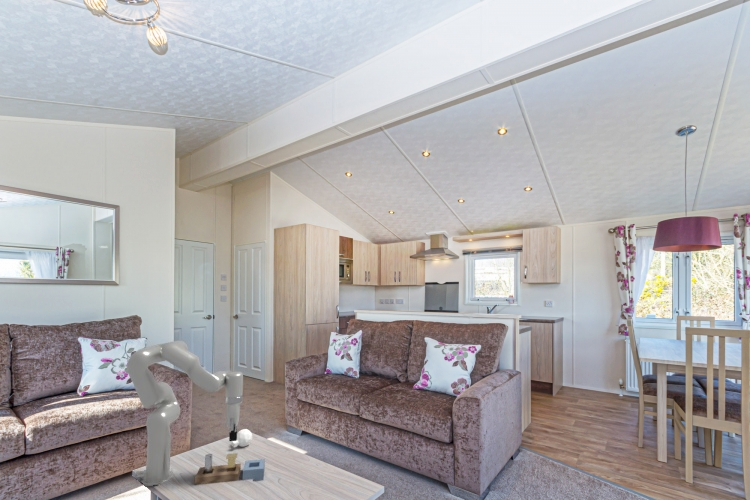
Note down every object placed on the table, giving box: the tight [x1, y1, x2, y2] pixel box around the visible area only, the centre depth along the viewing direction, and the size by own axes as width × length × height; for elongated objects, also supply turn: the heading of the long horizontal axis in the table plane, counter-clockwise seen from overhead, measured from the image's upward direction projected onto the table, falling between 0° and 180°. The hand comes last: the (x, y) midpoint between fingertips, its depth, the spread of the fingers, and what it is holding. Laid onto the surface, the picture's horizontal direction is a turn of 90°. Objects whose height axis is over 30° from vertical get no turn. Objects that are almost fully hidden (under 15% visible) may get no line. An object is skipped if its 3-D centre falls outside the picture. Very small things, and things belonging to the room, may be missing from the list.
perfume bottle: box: [231, 428, 253, 448], centre depth 213 cm, size 9×9×12 cm
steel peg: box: [204, 453, 213, 474], centre depth 176 cm, size 3×3×10 cm
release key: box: [226, 452, 238, 468], centre depth 178 cm, size 4×4×5 cm
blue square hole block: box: [242, 458, 266, 482], centre depth 180 cm, size 9×10×5 cm
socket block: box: [194, 463, 242, 486], centre depth 177 cm, size 18×10×4 cm, turn 103°
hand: (233, 440), depth 179 cm, fingers closed
